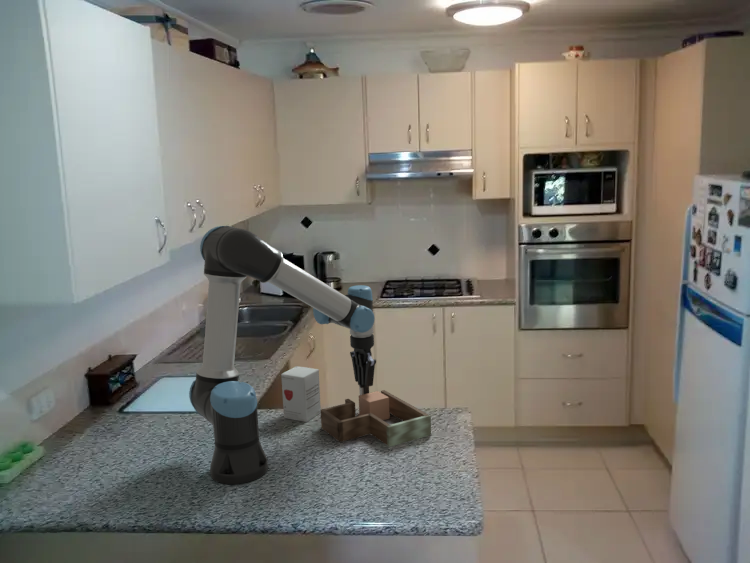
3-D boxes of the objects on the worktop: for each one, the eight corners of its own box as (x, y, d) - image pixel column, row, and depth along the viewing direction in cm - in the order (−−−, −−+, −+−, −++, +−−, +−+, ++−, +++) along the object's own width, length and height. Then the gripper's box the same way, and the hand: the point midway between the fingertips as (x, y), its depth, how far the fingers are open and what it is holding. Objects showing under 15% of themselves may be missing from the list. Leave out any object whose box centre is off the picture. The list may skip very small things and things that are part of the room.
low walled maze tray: (389, 447, 193) (388, 427, 192) (345, 417, 216) (345, 399, 215) (431, 435, 200) (430, 415, 199) (384, 407, 223) (384, 389, 222)
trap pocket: (339, 442, 197) (338, 422, 196) (321, 428, 208) (320, 409, 207) (372, 433, 203) (371, 414, 202) (352, 420, 213) (351, 402, 212)
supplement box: (282, 418, 217) (279, 373, 214) (298, 408, 225) (295, 365, 222) (306, 422, 213) (303, 377, 210) (321, 412, 220) (319, 368, 218)
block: (370, 423, 210) (369, 402, 209) (359, 416, 216) (358, 395, 215) (389, 418, 213) (388, 397, 212) (378, 411, 219) (377, 391, 218)
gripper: (382, 336, 211) (385, 408, 215) (362, 328, 222) (365, 396, 226) (361, 341, 207) (364, 413, 212) (341, 332, 218) (345, 401, 223)
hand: (364, 404), depth 219 cm, fingers closed
